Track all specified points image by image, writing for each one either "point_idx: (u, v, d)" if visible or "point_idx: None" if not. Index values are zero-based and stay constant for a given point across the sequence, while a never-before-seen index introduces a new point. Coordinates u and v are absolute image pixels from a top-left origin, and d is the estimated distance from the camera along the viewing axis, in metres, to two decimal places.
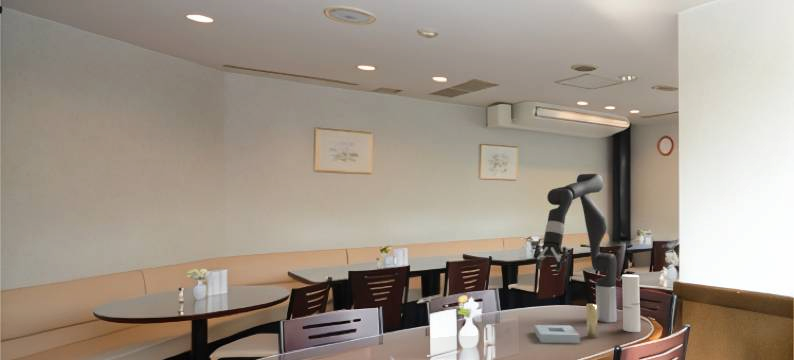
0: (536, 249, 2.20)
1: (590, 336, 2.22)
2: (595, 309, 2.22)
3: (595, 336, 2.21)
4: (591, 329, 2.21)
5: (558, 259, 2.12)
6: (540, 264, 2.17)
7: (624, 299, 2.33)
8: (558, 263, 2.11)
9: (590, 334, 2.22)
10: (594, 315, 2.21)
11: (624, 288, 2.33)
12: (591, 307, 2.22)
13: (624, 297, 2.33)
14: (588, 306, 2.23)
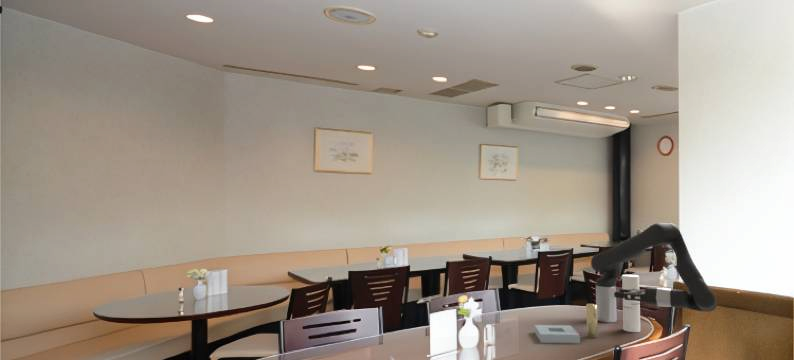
0: None
1: (590, 336, 2.22)
2: (595, 309, 2.22)
3: (595, 336, 2.21)
4: (591, 329, 2.21)
5: None
6: None
7: (624, 299, 2.33)
8: None
9: (590, 334, 2.22)
10: (594, 315, 2.21)
11: (624, 288, 2.33)
12: (591, 307, 2.22)
13: None
14: (588, 306, 2.23)
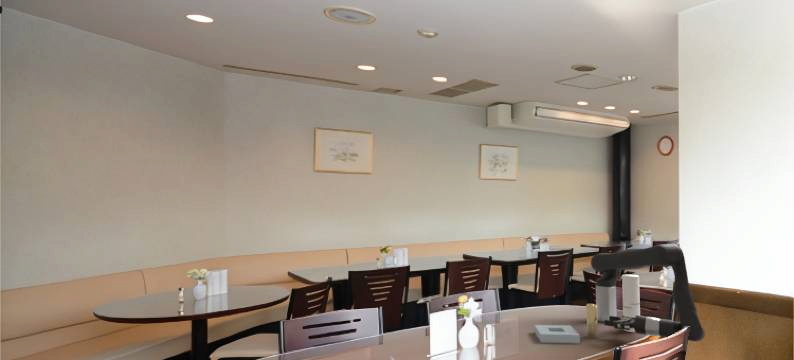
0: None
1: (590, 336, 2.22)
2: (595, 309, 2.22)
3: (595, 336, 2.21)
4: (591, 329, 2.21)
5: None
6: None
7: (624, 299, 2.33)
8: None
9: (590, 334, 2.22)
10: (594, 315, 2.21)
11: (624, 288, 2.33)
12: (591, 307, 2.22)
13: (624, 297, 2.33)
14: (588, 306, 2.23)
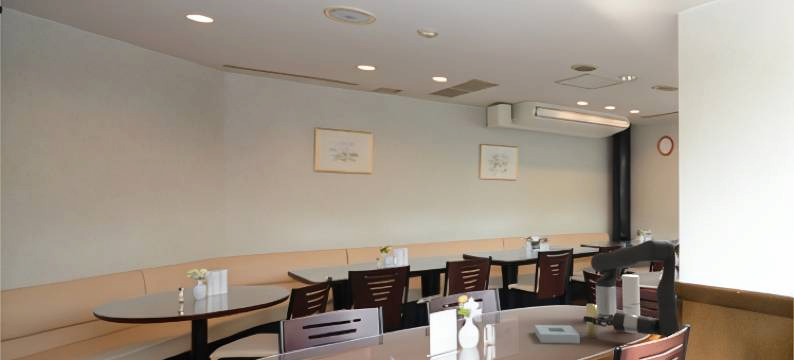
0: None
1: (590, 336, 2.22)
2: (595, 309, 2.22)
3: (595, 336, 2.21)
4: (591, 329, 2.21)
5: None
6: None
7: (624, 299, 2.33)
8: None
9: (590, 334, 2.22)
10: (594, 315, 2.21)
11: (624, 288, 2.33)
12: (591, 307, 2.22)
13: (624, 297, 2.33)
14: (588, 306, 2.23)
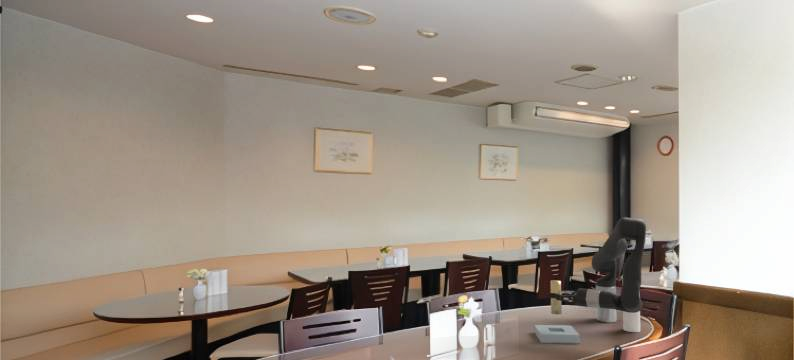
0: None
1: (554, 312, 2.21)
2: (559, 285, 2.21)
3: (558, 312, 2.20)
4: (555, 305, 2.20)
5: None
6: None
7: None
8: None
9: (553, 310, 2.21)
10: (558, 291, 2.20)
11: None
12: (555, 283, 2.21)
13: None
14: (552, 282, 2.22)
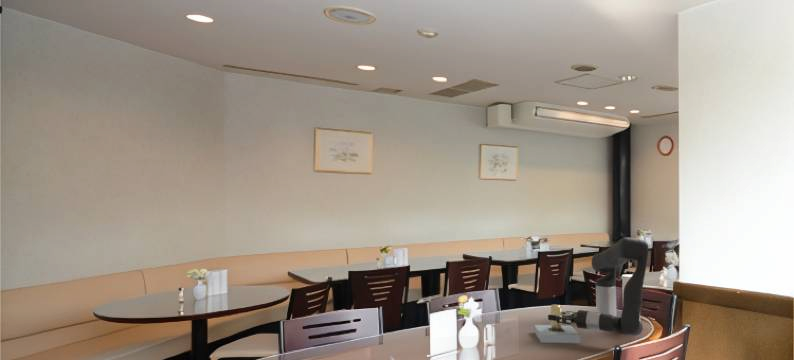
0: None
1: None
2: (559, 310, 2.20)
3: None
4: (555, 330, 2.20)
5: None
6: None
7: None
8: None
9: None
10: None
11: None
12: (555, 308, 2.20)
13: None
14: (552, 307, 2.21)
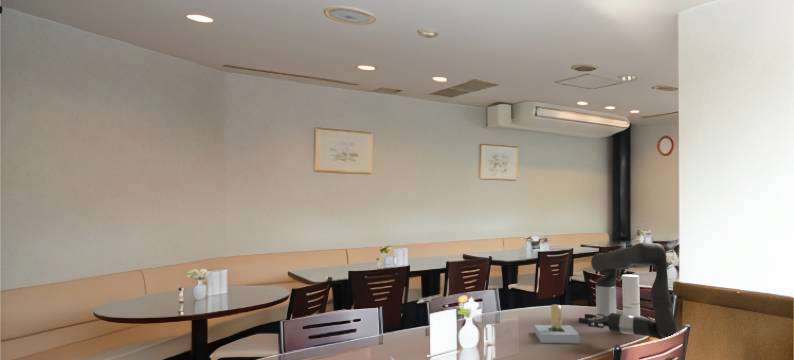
0: None
1: None
2: (559, 310, 2.20)
3: None
4: (555, 330, 2.20)
5: None
6: None
7: (624, 299, 2.33)
8: None
9: None
10: (558, 316, 2.20)
11: (624, 288, 2.33)
12: (555, 308, 2.20)
13: (624, 297, 2.33)
14: (552, 307, 2.21)
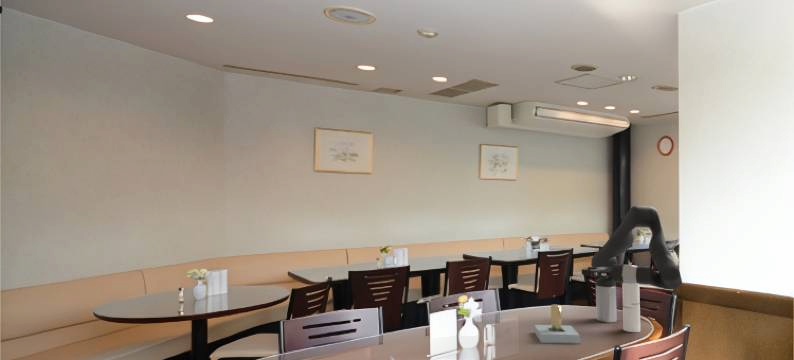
0: None
1: None
2: (559, 310, 2.20)
3: None
4: (555, 330, 2.20)
5: None
6: None
7: (624, 299, 2.33)
8: None
9: None
10: (558, 316, 2.20)
11: (624, 288, 2.33)
12: (555, 308, 2.20)
13: (624, 297, 2.33)
14: (552, 307, 2.21)
